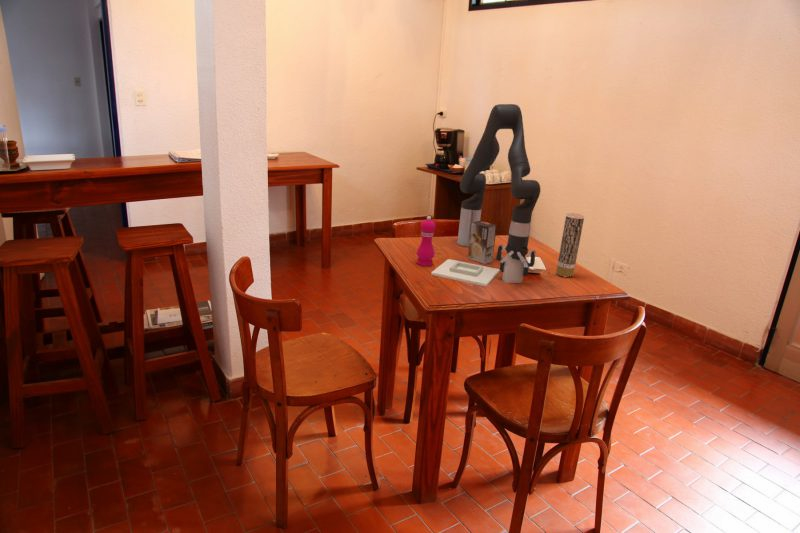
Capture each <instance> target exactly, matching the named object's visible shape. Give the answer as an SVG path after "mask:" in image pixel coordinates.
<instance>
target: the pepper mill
mask: <svg viewBox="0 0 800 533" xmlns="http://www.w3.org/2000/svg"><path fill="white" fill-rule="evenodd" d="M436 227H437V225H436V222H435V221H434V220H432V216H430V215H428V216H426V219H425V220H424V219H423V221H421V223H420V229H421V231H420V232H421V234H420V235H421V242H420V244H419V246H418V248H417V250H416V255H417V257H418V258H417V259H416V260H417V262H416V264H418V266H421V267H430V266H433V258H434V257H435V247H434V246H433V237H434V234H435V232H434V231H435V230H436Z"/></svg>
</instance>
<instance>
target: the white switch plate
mask: <svg viewBox="0 0 800 533" xmlns="http://www.w3.org/2000/svg"><path fill="white" fill-rule="evenodd" d="M500 272H501V270H500V268H494V267H490V266H484V265H480V264H474V263H471V262H466V261H460V260H455V259H450V258H448V259H446V260H445V261H444V262H443V263H442V264H440V265H439V266H437V267H436V268H435V269H433V270H432V271H431V274H430V276H436V277H440V278H444V279H448V280H454V281H458V282H463V283H467V284H471V285H478V286H482V287H487V286H488V285H489V284H490V283H491V282H492V281H493V280H494V279H495V277H496V276H497V275H498V274H499V273H500Z"/></svg>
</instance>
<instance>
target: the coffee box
mask: <svg viewBox="0 0 800 533" xmlns="http://www.w3.org/2000/svg"><path fill="white" fill-rule="evenodd" d="M497 227H498V226H497V224H493V223H491V222H486V221H482V220H480V221H477V222H473V223H472V226H471V235H470V245H469V247H468V255H467V256H468V257H467V259H468V260H471V261H474V262H477V263H480V264H483V265H487V264H489V263H492V262H493V261H494V260H493V259H494V252H495V244H496V243H495V242H496V237H497V236H496V234H497Z"/></svg>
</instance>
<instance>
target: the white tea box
mask: <svg viewBox="0 0 800 533" xmlns="http://www.w3.org/2000/svg"><path fill="white" fill-rule="evenodd" d="M507 257H508V256H507ZM524 267H525V266H524V264H523V263H522V261H521V260H516V259H512V257H508V259H506V260H505V264H504V270H503V272H502V277H501V278H502V279H501V280H502V281H503V282H504V283H505V284H523V280H524V276H523V273H524Z"/></svg>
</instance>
